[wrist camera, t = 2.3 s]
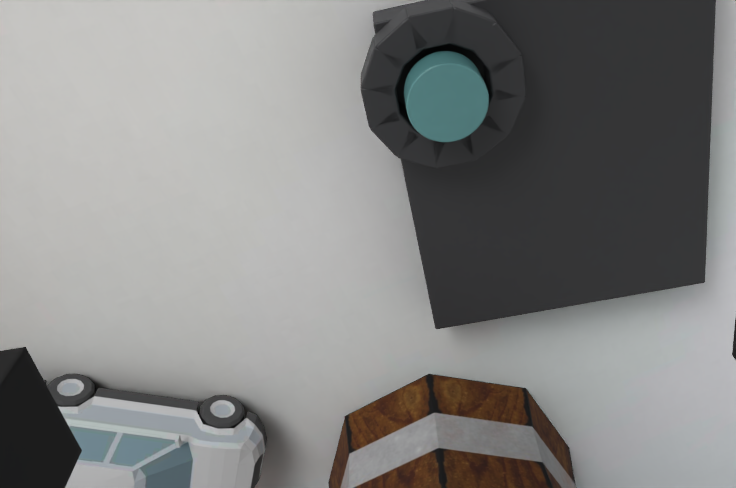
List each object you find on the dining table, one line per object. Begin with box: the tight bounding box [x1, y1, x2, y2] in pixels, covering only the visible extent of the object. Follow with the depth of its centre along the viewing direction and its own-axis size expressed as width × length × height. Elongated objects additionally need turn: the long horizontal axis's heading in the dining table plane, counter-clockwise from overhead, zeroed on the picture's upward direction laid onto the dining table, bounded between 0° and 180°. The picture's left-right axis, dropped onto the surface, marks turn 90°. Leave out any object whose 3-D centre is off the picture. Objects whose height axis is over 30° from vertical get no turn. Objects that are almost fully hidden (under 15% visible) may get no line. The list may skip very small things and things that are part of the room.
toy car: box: [44, 374, 267, 488], centre depth 35 cm, size 6×13×5 cm, turn 79°
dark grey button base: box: [361, 0, 716, 329], centre depth 28 cm, size 14×13×4 cm
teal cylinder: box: [404, 51, 489, 142], centre depth 24 cm, size 3×3×2 cm
